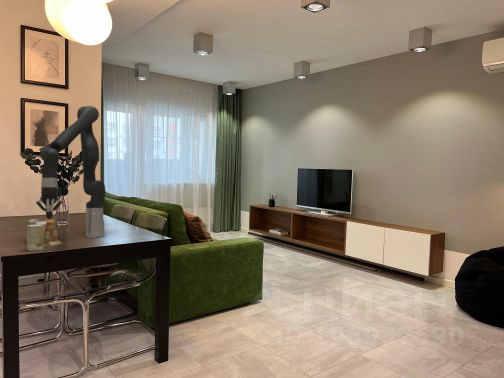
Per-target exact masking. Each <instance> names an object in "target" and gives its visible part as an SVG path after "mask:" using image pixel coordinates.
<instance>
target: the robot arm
mask: <svg viewBox="0 0 504 378" xmlns="http://www.w3.org/2000/svg"><path fill="white" fill-rule="evenodd" d="M76 117H77V119H76V121H74V122H73V123H71V125H69V126H68V127H66V128H65V129H64V130H62V132H60V133H59V134H58V136H56V138H54V139H53V141H52V142H50V143H49V144H48V145H46V146H45V147H44V148H42V150H41V151H40V154H39V155H40V159H41V160H42V161H44V166H43V167H42V169H41V183H40V187H41V188H40V193H41V194H40V199H39V200H36V201H35V204H36V205H37V206H38V208H40V209H41V210H42V211H43V212H45V217H46V220H52V218H53V214H54V213H53V212H54V211H57V210H58V209H59V207H60V206H61V205H62V204H63V200H61V199H60V198H59V196H58V166H59V164H60V163H59V162H60V154H59V153H60V152H62V151H65V150H66V149H67V148H68V147H69V146H70V145H71V144H72V142H74V140H75V139H76V138H77V137H78V136H79V135H80V147H81V157H82V171H83V174H82V176H83V177H82V179H83V180H82V181H83V182H82V187H83V192H84V193H85V194H86V195H88V196H90V200H88V201H87V202H86V203H85V208H86V209H85V238H87V239H88V238H89V239H90V238H91V239H92V238H93V239H97V238H101V237H105V220H104V204H105V199H106V186H105V185H106V184H105V183H104V181H102V180H98V179H97V180H96V168H97V166H98V164H99V160H100V149H99V148H100V147H99V146H100V145H99V143H98V140H97V138H96V136H95V133H94V131H93V123H94V124H95V122H96V121H97V120H98V119H99V117H100V113H99V110H98V109H97V108H96V107H95V106H93V105H85V106H84V105H83V106H81V107H79V108H78V109H77V113H76ZM42 204H43V205H44V206H43V205H42Z"/></svg>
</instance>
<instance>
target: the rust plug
mask: <svg viewBox="0 0 504 378" xmlns="http://www.w3.org/2000/svg"><path fill="white" fill-rule="evenodd" d="M44 222H47V224H46V225H45V229H46V231H49V230H53V228H54V223H55V219H45V220H44Z"/></svg>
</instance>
